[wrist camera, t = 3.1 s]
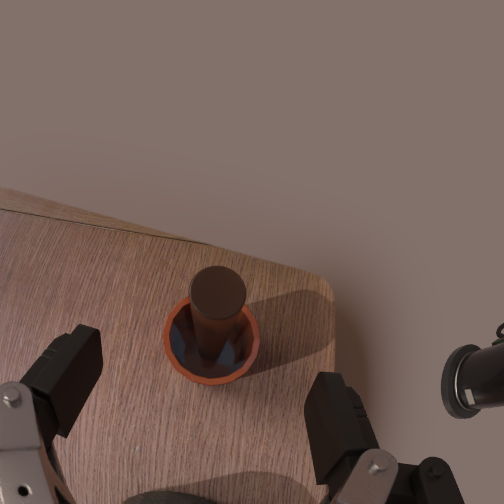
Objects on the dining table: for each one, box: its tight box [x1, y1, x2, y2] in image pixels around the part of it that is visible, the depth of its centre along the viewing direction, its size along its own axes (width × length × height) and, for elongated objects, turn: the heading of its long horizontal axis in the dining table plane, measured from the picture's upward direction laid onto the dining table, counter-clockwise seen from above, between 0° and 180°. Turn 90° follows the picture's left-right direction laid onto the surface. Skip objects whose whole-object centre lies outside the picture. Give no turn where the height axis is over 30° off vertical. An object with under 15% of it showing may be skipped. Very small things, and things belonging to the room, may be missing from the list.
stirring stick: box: [189, 266, 246, 360], centre depth 19 cm, size 2×2×18 cm
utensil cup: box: [163, 296, 261, 386], centre depth 24 cm, size 7×7×8 cm
